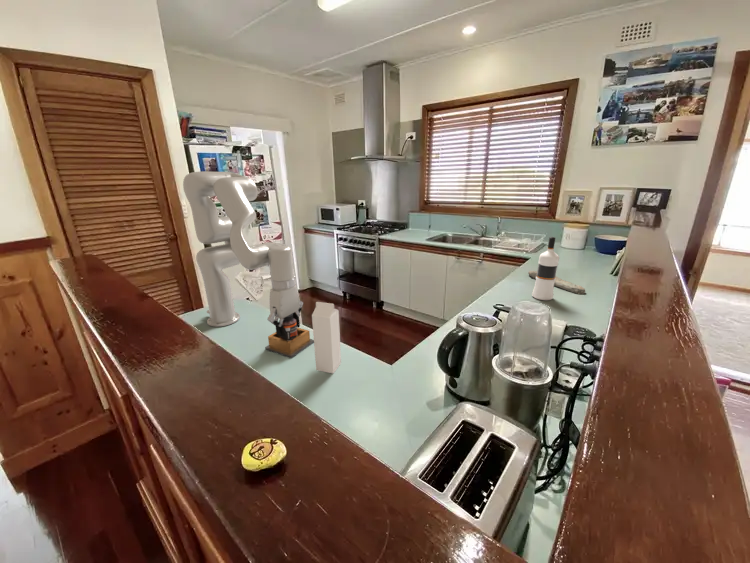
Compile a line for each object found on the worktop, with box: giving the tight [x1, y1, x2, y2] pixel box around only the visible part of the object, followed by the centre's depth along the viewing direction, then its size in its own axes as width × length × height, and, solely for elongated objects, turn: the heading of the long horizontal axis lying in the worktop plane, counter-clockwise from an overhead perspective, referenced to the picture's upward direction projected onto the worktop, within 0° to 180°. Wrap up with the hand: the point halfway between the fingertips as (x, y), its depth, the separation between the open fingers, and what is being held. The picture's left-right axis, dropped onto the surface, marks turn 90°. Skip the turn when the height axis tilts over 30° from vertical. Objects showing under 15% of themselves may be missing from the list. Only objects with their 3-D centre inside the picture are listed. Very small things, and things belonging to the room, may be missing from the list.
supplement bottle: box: [280, 313, 298, 341], centre depth 110 cm, size 6×6×11 cm
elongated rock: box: [528, 270, 586, 295], centre depth 173 cm, size 35×5×10 cm
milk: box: [311, 301, 342, 374], centre depth 96 cm, size 6×6×22 cm
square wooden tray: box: [265, 327, 314, 359], centre depth 111 cm, size 12×12×5 cm
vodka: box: [531, 236, 560, 301], centre depth 149 cm, size 9×9×30 cm
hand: (288, 330), depth 110 cm, fingers open, 7 cm apart
